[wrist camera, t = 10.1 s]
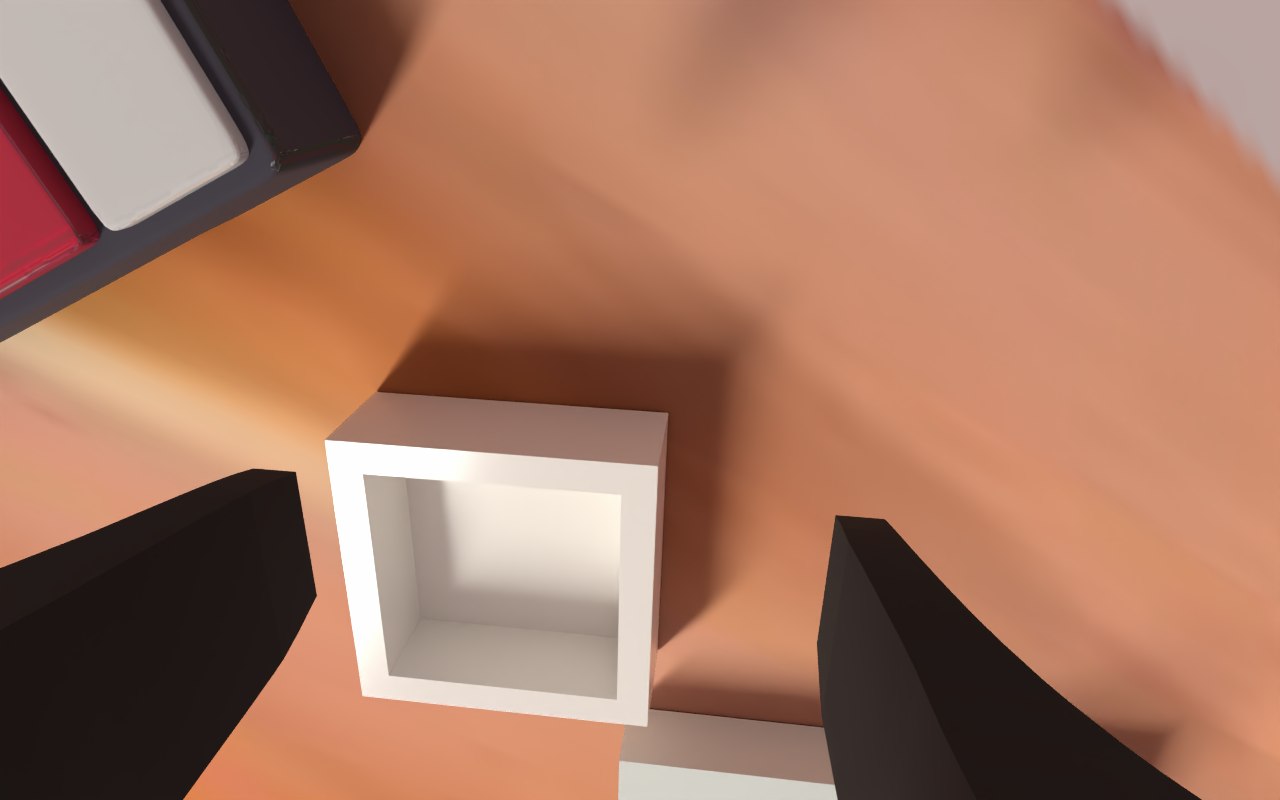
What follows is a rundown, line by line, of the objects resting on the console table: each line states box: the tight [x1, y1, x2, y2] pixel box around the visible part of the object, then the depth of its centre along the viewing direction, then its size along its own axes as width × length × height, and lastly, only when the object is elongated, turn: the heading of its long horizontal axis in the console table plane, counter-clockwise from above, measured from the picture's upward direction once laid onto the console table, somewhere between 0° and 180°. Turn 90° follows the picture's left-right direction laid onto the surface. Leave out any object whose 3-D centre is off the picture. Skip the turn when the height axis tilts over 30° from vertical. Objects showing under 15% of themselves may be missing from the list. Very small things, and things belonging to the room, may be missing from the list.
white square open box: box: [325, 392, 668, 727], centre depth 21 cm, size 8×8×3 cm
